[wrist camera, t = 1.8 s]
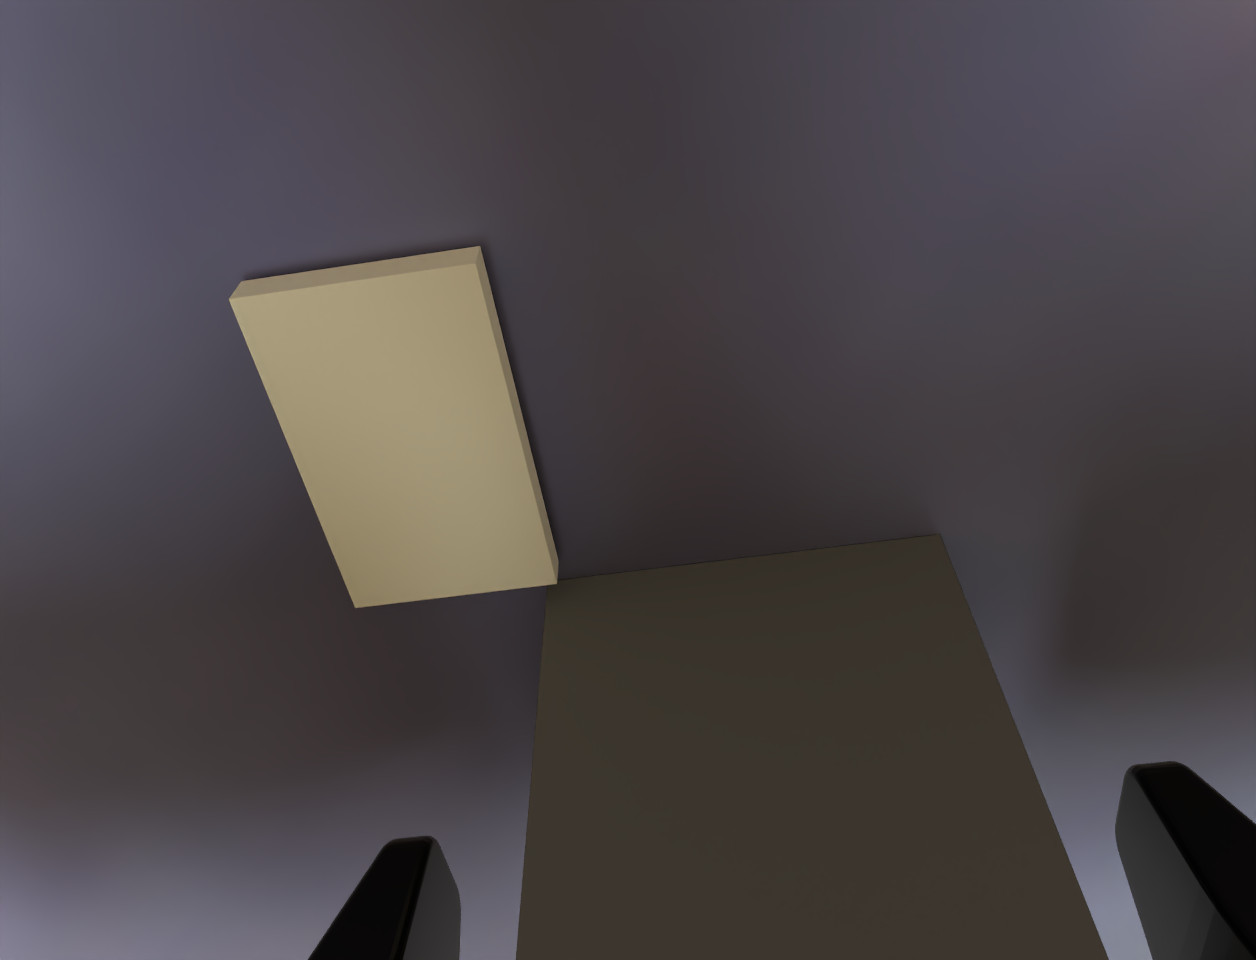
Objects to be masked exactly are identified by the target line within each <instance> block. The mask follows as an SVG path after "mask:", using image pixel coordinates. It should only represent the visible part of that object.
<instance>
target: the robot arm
mask: <svg viewBox="0 0 1256 960" xmlns="http://www.w3.org/2000/svg"><path fill="white" fill-rule="evenodd" d="M1115 835H1116V842H1117V847H1118V851H1119V855H1120V858H1121V861H1122V864H1123V867H1124V870H1125V874H1126V877H1127V880H1128V883H1129V886H1130V889H1131V893H1132V896H1133V899H1134V902H1135V905H1136V908H1137V911H1138V915H1139V918H1140V921H1141V924H1142V927H1143V930H1144V933H1145V937H1146V940H1147V943H1148V946H1149V949H1150V952H1151V955H1152V959H1153V960H1256V824H1255V823H1254V822H1253V821H1252V820H1250V819H1249V818H1248V817H1247V816H1246V815H1244V814H1243V813H1242V812H1241V811H1240V810H1239V809H1237V808H1236V807H1235V806H1234V805H1233V804H1231V803H1230V802H1229V801H1228V800H1227V799H1225V798H1224V797H1223V796H1222V795H1221V794H1220V793H1218V792H1217V791H1216V790H1215V789H1214V788H1212V787H1211V786H1210V785H1209V784H1208V783H1206V782H1205V781H1204V780H1203V779H1202V778H1201V777H1199V776H1198V775H1197V774H1196V773H1195V772H1193V771H1192V770H1191V769H1190V768H1188V767H1187V766H1185V765H1183V764H1181V763H1178V762H1174V761H1167V762H1157V763H1147V764H1137V765H1133V766H1131V767H1130V768H1129V769H1128V770H1127V771H1126V774H1125V777H1124V781H1123V786H1122V792H1121V797H1120V802H1119V807H1118V812H1117V818H1116V824H1115ZM460 923H461V907H460V897H459V892H458V888H457V885H456V883H455V881H454V878H453V876H452V873H451V871H450V869H449V866H448V864H447V862H446V859H445V857H444V854H443V852H442V850H441V847H440V845H439V843H438V842H437V840H436V839H435V838H433V837H432V836H418V837H408V838H398V839H394V840H391V841H390V842H389V843H387V844H386V845H385V846H384V847H383V848H382V850H381V851H380V852H379V854H378V855H377V857H376V858H375V860H374V861H373V863H372V864H371V866H370V867H369V869H368V870H367V872H366V873H365V875H364V876H363V878H362V879H361V881H360V882H359V884H358V885H357V887H356V888H355V890H354V891H353V893H352V894H351V896H350V897H349V899H348V900H347V902H346V903H345V905H344V906H343V908H342V909H341V911H340V912H339V914H338V915H337V917H336V918H335V920H334V921H333V923H332V924H331V926H330V927H329V929H328V930H327V932H326V933H325V935H324V936H323V938H322V939H321V941H320V942H319V944H318V945H317V947H316V948H315V950H314V951H313V953H312V954H311V956H310V957H309V959H308V960H459V952H460Z"/></svg>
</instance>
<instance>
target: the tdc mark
mask: <svg viewBox="0 0 1256 960" xmlns="http://www.w3.org/2000/svg"><path fill="white" fill-rule="evenodd" d="M229 301H230V304H231V306H232V309H233V311H234V314H235V316H236V318H237V321H238V323H239V326H240V328H241V331H242V333H243V336H244V338H245V340H246V343H247V345H248V348H249V350H250V353H251V355H252V357H253V360H254V362H255V365H256V367H257V370H258V372H259V375H260V377H261V379H262V382H263V384H264V387H265V389H266V392H267V394H268V396H269V399H270V401H271V404H272V406H273V409H274V411H275V414H276V416H277V418H278V421H279V423H280V426H281V428H282V431H283V433H284V435H285V438H286V440H287V443H288V445H289V448H290V450H291V453H292V455H293V457H294V460H295V462H296V465H297V467H298V470H299V472H300V475H301V477H302V479H303V482H304V484H305V487H306V489H307V492H308V494H309V496H310V499H311V501H312V504H313V506H314V509H315V511H316V514H317V516H318V518H319V521H320V523H321V526H322V528H323V531H324V533H325V535H326V538H327V540H328V543H329V545H330V548H331V550H332V553H333V555H334V557H335V560H336V562H337V565H338V567H339V570H340V572H341V574H342V577H343V579H344V582H345V584H346V587H347V589H348V592H349V594H350V596H351V599H352V601H353V604H354V606H355V608H360V607H368V606H377V605H385V604H393V603H402V602H410V601H418V600H427V599H435V598H444V597H452V596H460V595H469V594H477V593H485V592H494V591H502V590H510V589H519V588H527V587H535V586H544V585H552V584H557V577H558V563H559V561H558V557H557V553H556V549H555V545H554V541H553V537H552V533H551V529H550V525H549V521H548V517H547V513H546V509H545V505H544V501H543V497H542V493H541V489H540V485H539V481H538V477H537V473H536V469H535V464H534V460H533V456H532V452H531V448H530V444H529V440H528V436H527V432H526V428H525V424H524V420H523V416H522V412H521V408H520V404H519V400H518V396H517V392H516V388H515V384H514V380H513V376H512V372H511V368H510V364H509V360H508V356H507V352H506V348H505V344H504V340H503V336H502V332H501V328H500V324H499V320H498V316H497V312H496V308H495V304H494V300H493V296H492V292H491V288H490V284H489V280H488V276H487V272H486V268H485V264H484V259H483V255H482V251H481V247H480V246H476V247H469V248H463V249H456V250H449V251H442V252H435V253H429V254H422V255H415V256H408V257H402V258H395V259H388V260H381V261H375V262H368V263H361V264H354V265H348V266H341V267H334V268H327V269H321V270H314V271H307V272H300V273H293V274H287V275H280V276H273V277H266V278H260V279H253V280H246V281H241V282H240V283H239V285H238V286H237V288H236V289H235V291H234V292H233V294H232V295H231V297H230V298H229Z"/></svg>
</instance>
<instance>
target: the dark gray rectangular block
mask: <svg viewBox="0 0 1256 960" xmlns="http://www.w3.org/2000/svg"><path fill="white" fill-rule="evenodd" d="M516 960H1109V959H1108V956H1107V954H1106V951H1105V949H1104V946H1103V944H1102V941H1101V939H1100V936H1099V934H1098V931H1097V929H1096V926H1095V924H1094V921H1093V918H1092V916H1091V913H1090V911H1089V908H1088V906H1087V903H1086V901H1085V898H1084V896H1083V893H1082V891H1081V888H1080V886H1079V883H1078V881H1077V878H1076V876H1075V873H1074V871H1073V868H1072V866H1071V863H1070V861H1069V858H1068V856H1067V853H1066V851H1065V848H1064V846H1063V843H1062V840H1061V838H1060V835H1059V833H1058V830H1057V828H1056V825H1055V823H1054V820H1053V818H1052V815H1051V813H1050V810H1049V808H1048V805H1047V803H1046V800H1045V798H1044V795H1043V793H1042V790H1041V788H1040V785H1039V783H1038V780H1037V778H1036V775H1035V773H1034V770H1033V768H1032V765H1031V762H1030V760H1029V757H1028V755H1027V752H1026V750H1025V747H1024V745H1023V742H1022V740H1021V737H1020V735H1019V732H1018V730H1017V727H1016V725H1015V722H1014V720H1013V717H1012V715H1011V712H1010V710H1009V707H1008V705H1007V702H1006V700H1005V697H1004V695H1003V692H1002V690H1001V687H1000V684H999V682H998V679H997V677H996V674H995V672H994V669H993V667H992V664H991V662H990V659H989V657H988V654H987V652H986V649H985V647H984V644H983V642H982V639H981V637H980V634H979V632H978V629H977V627H976V624H975V622H974V619H973V617H972V614H971V612H970V609H969V606H968V604H967V601H966V599H965V596H964V594H963V591H962V589H961V586H960V584H959V581H958V579H957V576H956V574H955V571H954V569H953V566H952V564H951V561H950V559H949V556H948V554H947V551H946V549H945V546H944V544H943V541H942V539H941V536H940V534H939V535H930V536H922V537H914V538H905V539H897V540H889V541H880V542H872V543H864V544H855V545H847V546H839V547H830V548H822V549H814V550H805V551H797V552H789V553H781V554H772V555H764V556H756V557H747V558H739V559H731V560H722V561H714V562H706V563H697V564H689V565H681V566H672V567H664V568H656V569H647V570H639V571H631V572H622V573H614V574H606V575H597V576H589V577H581V578H573V579H564V580H557V584H552V585H547V596H546V608H545V620H544V632H543V644H542V656H541V668H540V679H539V691H538V703H537V715H536V727H535V739H534V751H533V762H532V774H531V786H530V798H529V810H528V822H527V833H526V845H525V857H524V869H523V881H522V893H521V905H520V916H519V928H518V940H517V952H516Z"/></svg>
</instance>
